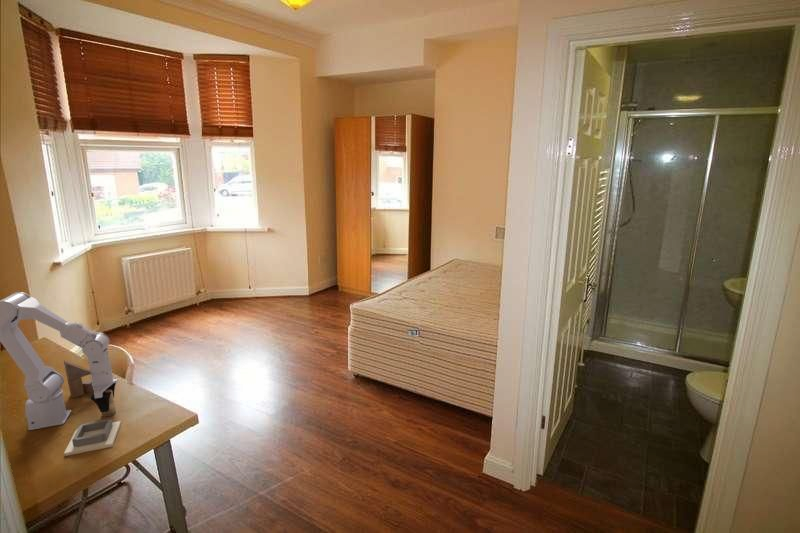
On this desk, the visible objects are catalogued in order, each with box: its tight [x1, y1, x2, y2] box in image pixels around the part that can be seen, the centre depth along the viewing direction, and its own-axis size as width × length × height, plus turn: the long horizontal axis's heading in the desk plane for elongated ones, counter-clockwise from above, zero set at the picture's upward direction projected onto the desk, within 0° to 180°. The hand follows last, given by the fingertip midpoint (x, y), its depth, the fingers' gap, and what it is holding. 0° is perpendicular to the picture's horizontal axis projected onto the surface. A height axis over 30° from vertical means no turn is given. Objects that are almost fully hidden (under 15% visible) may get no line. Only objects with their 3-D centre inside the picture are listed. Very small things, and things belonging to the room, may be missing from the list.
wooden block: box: [63, 359, 94, 399], centre depth 154 cm, size 4×11×18 cm, turn 139°
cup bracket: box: [63, 418, 122, 457], centre depth 130 cm, size 12×12×4 cm
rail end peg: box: [101, 390, 117, 418], centre depth 142 cm, size 4×4×8 cm
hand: (107, 405), depth 143 cm, fingers open, 6 cm apart
